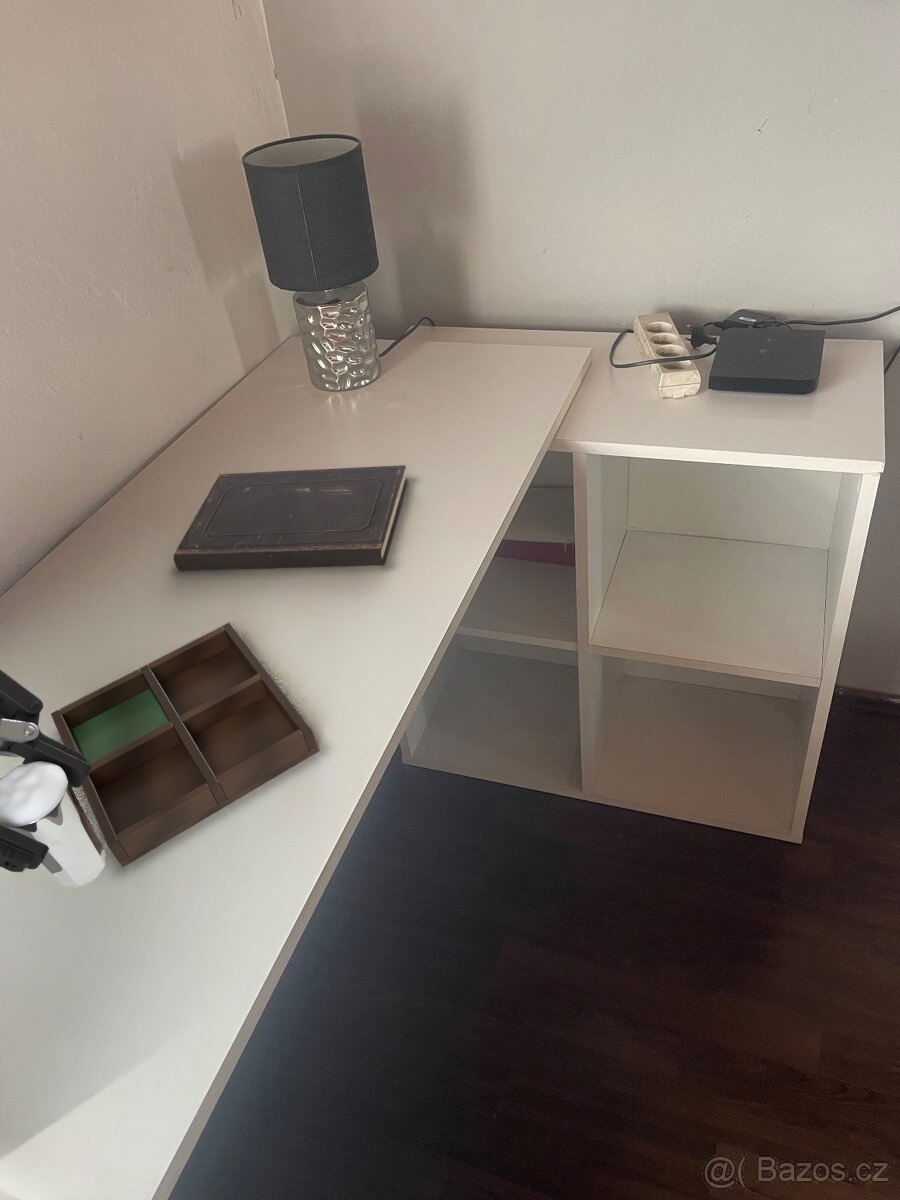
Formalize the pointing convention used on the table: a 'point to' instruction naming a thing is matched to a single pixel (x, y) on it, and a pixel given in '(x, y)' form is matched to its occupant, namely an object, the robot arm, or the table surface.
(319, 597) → the table surface
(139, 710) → the grid
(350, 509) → the hardcover book
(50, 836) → the milkshake
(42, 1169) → the table surface
